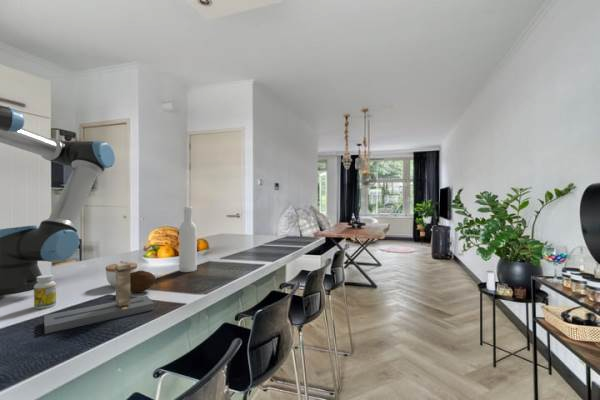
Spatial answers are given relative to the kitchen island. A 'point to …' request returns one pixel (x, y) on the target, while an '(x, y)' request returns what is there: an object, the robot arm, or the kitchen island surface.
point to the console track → (95, 314)
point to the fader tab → (122, 283)
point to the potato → (141, 281)
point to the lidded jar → (112, 272)
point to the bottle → (187, 243)
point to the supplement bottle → (44, 292)
